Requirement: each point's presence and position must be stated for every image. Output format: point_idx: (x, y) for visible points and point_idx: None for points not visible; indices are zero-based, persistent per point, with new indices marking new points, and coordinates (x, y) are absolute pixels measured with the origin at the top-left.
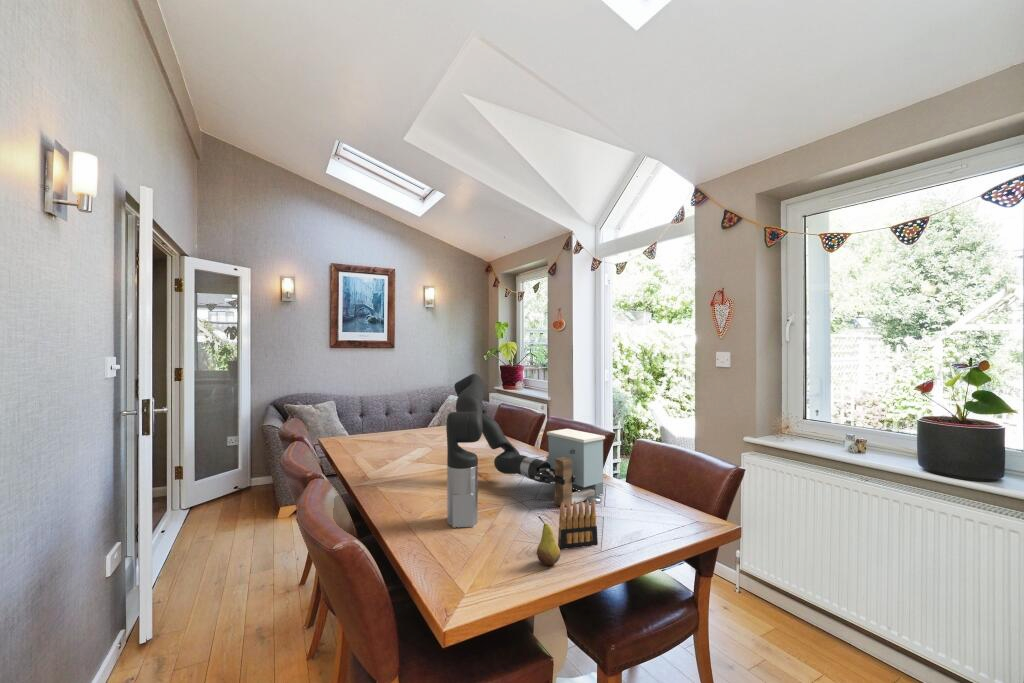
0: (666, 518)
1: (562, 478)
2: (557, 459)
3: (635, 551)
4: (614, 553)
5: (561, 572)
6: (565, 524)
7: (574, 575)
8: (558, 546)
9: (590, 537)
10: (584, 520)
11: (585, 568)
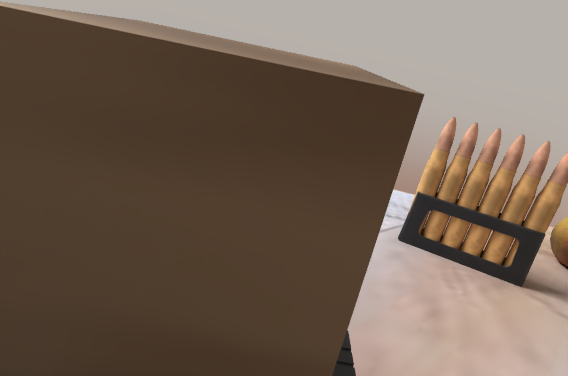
0: None
1: None
2: (386, 79)
3: None
4: (391, 207)
5: (547, 242)
6: (529, 211)
7: None
8: (565, 219)
9: (423, 225)
10: (462, 185)
11: None
